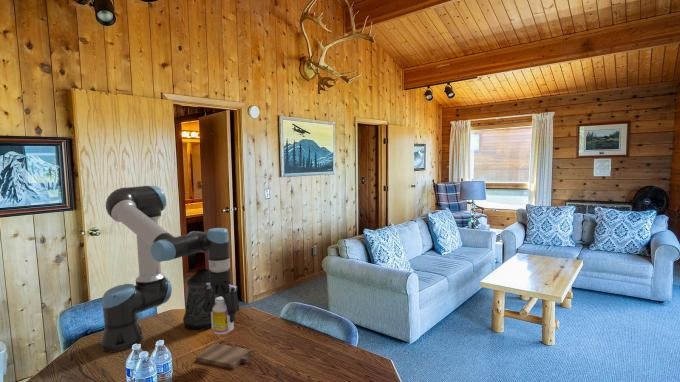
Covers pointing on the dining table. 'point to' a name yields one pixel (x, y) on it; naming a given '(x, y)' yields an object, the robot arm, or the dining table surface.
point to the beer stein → (197, 302)
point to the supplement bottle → (220, 316)
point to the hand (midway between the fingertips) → (222, 328)
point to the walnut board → (224, 355)
